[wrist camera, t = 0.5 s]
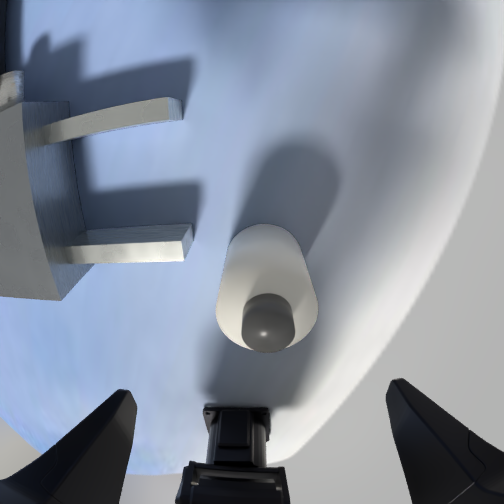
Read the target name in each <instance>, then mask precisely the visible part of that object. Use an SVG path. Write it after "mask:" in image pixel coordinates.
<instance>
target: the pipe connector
mask: <svg viewBox="0 0 504 504" xmlns="http://www.w3.org/2000/svg"><path fill="white" fill-rule="evenodd" d="M6 5H7V0H0V76H1V75H3V74H5V18H6Z"/></svg>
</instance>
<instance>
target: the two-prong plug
mask: <svg viewBox="0 0 504 504" xmlns="http://www.w3.org/2000/svg"><path fill="white" fill-rule="evenodd" d="M178 120H183V116H182V101H181V100H177V99H174V98H170V97H163V98H157V99H151V100H145V101H139V102H134V103H129V104H124V105H119V106H115V107H110V108H106V109H102V110H98V111H94V112H90V113H86V114H82V115H78V116H75V117H71V118H70V116H69V102H63V101H48V102H24V71H21V70H17V71H11V72H8V73H5V74H3V75H1V76H0V296H3V297H14V298H26V299H40V300H55V301H62V299H63V298H64V297H65V296H66V295H67V294H68V293H69V291H70V290H71V289H72V288H73V287H74V286H75V285H76V284H77V283H78V282H79V280H80V279H81V278H82V277H83V276H84V275H85V274H86V273H87V272H88V271H89V270H90V269H91V268H92V267H93V266H94V263H131V262H168V261H184V260H185V258H186V256H187V254H188V252H189V250H190V247H191V245H192V243H193V241H194V239H193V230H192V223H185V224H167V225H150V226H134V227H120V228H106V229H93V230H86V229H85V224H84V219H83V214H82V209H81V204H80V198H79V193H78V187H77V180H76V174H75V166H74V159H73V150H72V141H71V140H73V139H77V138H82V137H86V136H90V135H95V134H99V133H104V132H109V131H114V130H119V129H125V128H130V127H136V126H142V125H149V124H155V123H163V122H170V121H178Z"/></svg>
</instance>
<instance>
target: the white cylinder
mask: <svg viewBox="0 0 504 504" xmlns="http://www.w3.org/2000/svg"><path fill="white" fill-rule="evenodd" d="M317 316H318V301H317V297H316V294H315V291H314V288H313V285H312V282H311V279H310V276H309V273H308V270H307V267H306V263H305V260H304V257H303V254H302V252H301V249H300V246H299V244H298V242H297V240H296V239H295V237H294V236H293V235H292V234H291V233H290V232H288V231H287V230H285V229H284V228H281V227H279V226H276V225H272V224H257V225H253V226H250V227H247V228H245V229H243V230H242V231H241V232H239V233H238V234H237V235H236V236H235V237H234V238H233V239H232V241H231V242H230V244H229V247H228V249H227V253H226V258H225V263H224V268H223V273H222V278H221V283H220V288H219V293H218V298H217V303H216V318H217V322H218V324H219V326H220V328H221V330H222V331H223V333H224V334H225V335H226V336H227V337H228V338H229V339H230V340H232V341H233V342H235V343H236V344H238V345H240V346H242V347H244V348H248V349H251V350H255V351H258V352H262V353H273V352H277V351H280V350H282V349H284V348H287V347H289V346H292V345H294V344H296V343H297V342H299V341H300V340H302V339H303V338H304V337H305V336H306V335H307V334H308V333H309V332H310V331H311V329H312V328H313V326H314V324H315V322H316V319H317Z"/></svg>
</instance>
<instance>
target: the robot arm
mask: <svg viewBox="0 0 504 504" xmlns="http://www.w3.org/2000/svg"><path fill="white" fill-rule="evenodd" d="M386 403H387V408H388V413H389V418H390V423H391V429H392V433H393V438H394V441H395V444H396V448H397V451H398V454H399V457H400V461H401V464H402V467H403V471H404V474H405V478H406V482H407V485H408V489H409V492H410V496H411V500H412V504H504V452H502V451H501V450H499V449H497V448H496V447H494V446H492V445H491V444H489V443H488V442H486V441H485V440H483V439H482V438H480V437H479V436H477V435H476V434H475V433H474V432H472V431H471V430H469V429H468V428H467V427H466V426H464V425H463V424H462V423H461V422H459V421H458V420H456V419H455V418H454V417H453V416H451V415H450V414H449V413H447V412H446V411H445V410H444V409H442V408H441V407H440V406H438V405H437V404H436V403H435V402H433V401H432V400H431V399H429V398H428V397H427V396H426V395H424V394H423V393H422V392H420V391H419V390H418V389H416V388H415V387H414V386H412V385H411V384H410V383H409V382H407V381H406V380H405V379H403V378H398V379H394V380H392V381H391V382H390V385H389V388H388V390H387V393H386ZM136 415H137V404H136V402H135V400H134V398H133V396H132V394H131V392H130V391H129V390H124V389H118V390H117V391H116V392H114V393H113V394H112V395H111V396H110V397H109V398H108V399H106V400H105V401H104V402H103V403H102V404H101V405H100V406H98V407H97V408H96V409H95V410H94V411H93V412H92V413H90V414H89V415H88V416H87V417H86V418H85V419H84V420H82V421H81V422H80V423H79V424H78V425H77V426H76V427H74V428H73V429H72V430H71V431H70V432H69V433H67V434H66V435H65V436H64V437H63V438H62V439H60V440H59V441H58V442H57V443H56V445H53V446H52V447H51V448H50V449H49V450H47V451H46V452H45V453H44V454H42V455H41V456H40V457H39V458H37V459H36V460H34V461H33V462H32V463H30V464H29V465H27V466H26V467H24V468H23V469H21V470H19V471H18V472H16V473H15V474H13V475H12V476H10V477H8V478H6V479H3V480H0V504H119V500H120V496H121V491H122V487H123V482H124V478H125V474H126V469H127V465H128V461H129V457H130V453H131V449H132V444H133V437H134V429H135V422H136ZM203 416H204V419H205V423H206V426H207V430H208V433H209V441H208V449H207V458H206V464H205V463H197V462H195V461H190V462H189V466H186V467H184V469H183V476H182V481H181V484H180V487H179V490H178V493H177V496H176V499H175V504H290V496H289V491H288V485H287V480H286V474H285V468H284V467H277V468H274V467H266V442H267V441H269V409H268V408H204V409H203ZM197 483H199V484H198V485H197Z"/></svg>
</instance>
